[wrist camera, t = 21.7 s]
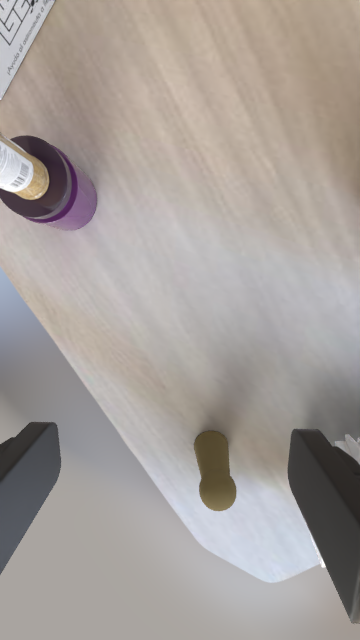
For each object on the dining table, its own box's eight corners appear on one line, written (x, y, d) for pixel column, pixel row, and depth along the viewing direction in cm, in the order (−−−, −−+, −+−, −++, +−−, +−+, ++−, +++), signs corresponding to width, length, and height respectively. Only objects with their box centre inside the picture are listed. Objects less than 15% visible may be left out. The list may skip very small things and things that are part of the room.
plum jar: (58, 149, 37) (17, 112, 28) (109, 193, 38) (86, 171, 29) (23, 202, 38) (-26, 183, 29) (73, 243, 40) (40, 237, 31)
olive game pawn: (188, 452, 47) (189, 509, 36) (203, 425, 45) (209, 475, 35) (218, 465, 47) (228, 525, 36) (234, 439, 46) (249, 492, 35)
